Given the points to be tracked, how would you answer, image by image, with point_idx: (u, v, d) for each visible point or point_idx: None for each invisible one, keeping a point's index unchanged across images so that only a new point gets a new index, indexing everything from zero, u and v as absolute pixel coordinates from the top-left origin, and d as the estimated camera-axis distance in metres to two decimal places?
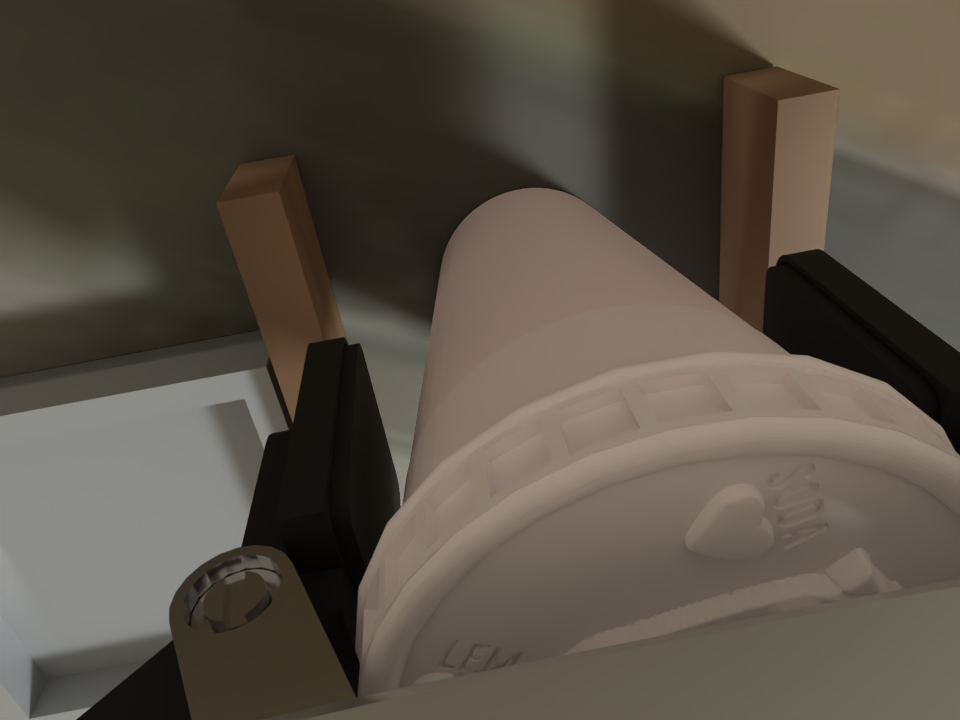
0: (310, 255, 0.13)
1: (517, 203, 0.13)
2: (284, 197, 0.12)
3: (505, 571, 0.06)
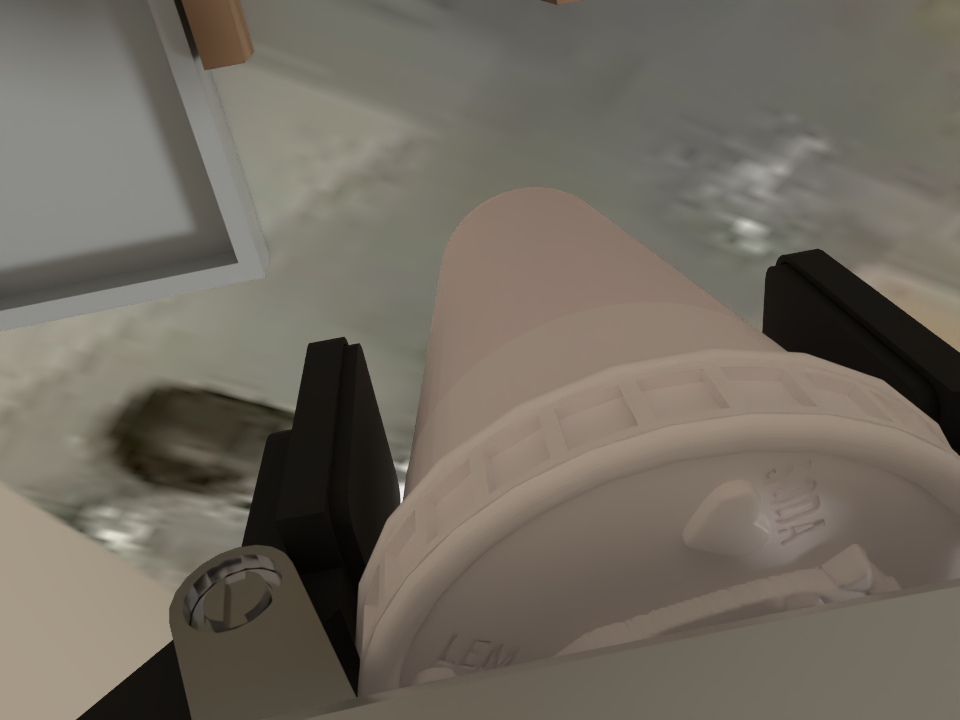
0: None
1: (517, 202, 0.13)
2: None
3: (504, 567, 0.06)
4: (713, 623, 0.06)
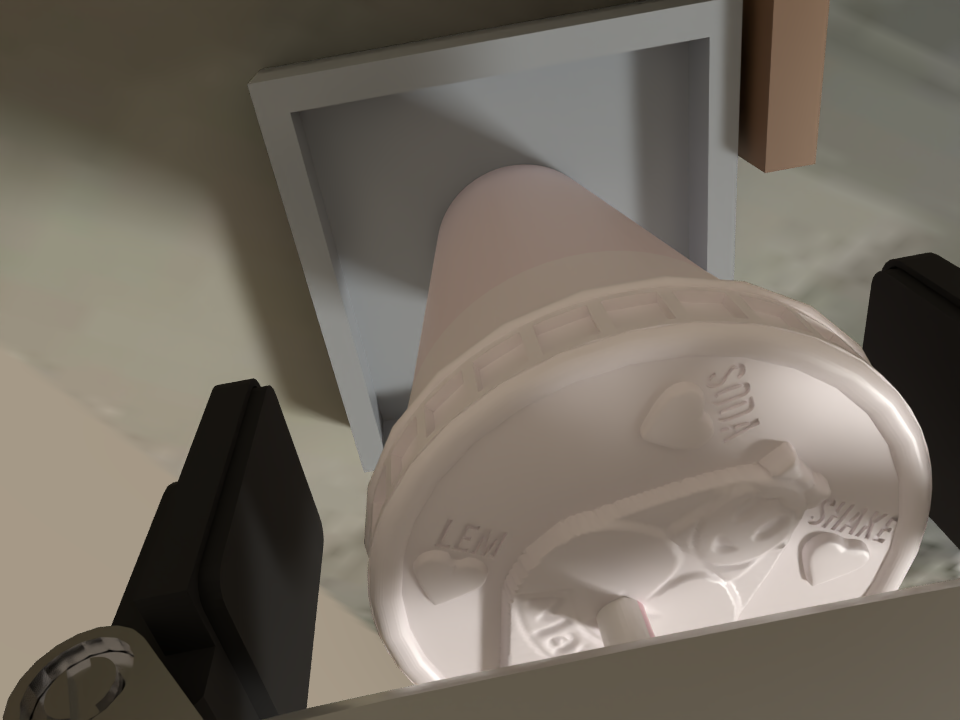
0: None
1: (508, 176, 0.14)
2: None
3: (491, 457, 0.07)
4: (667, 510, 0.07)
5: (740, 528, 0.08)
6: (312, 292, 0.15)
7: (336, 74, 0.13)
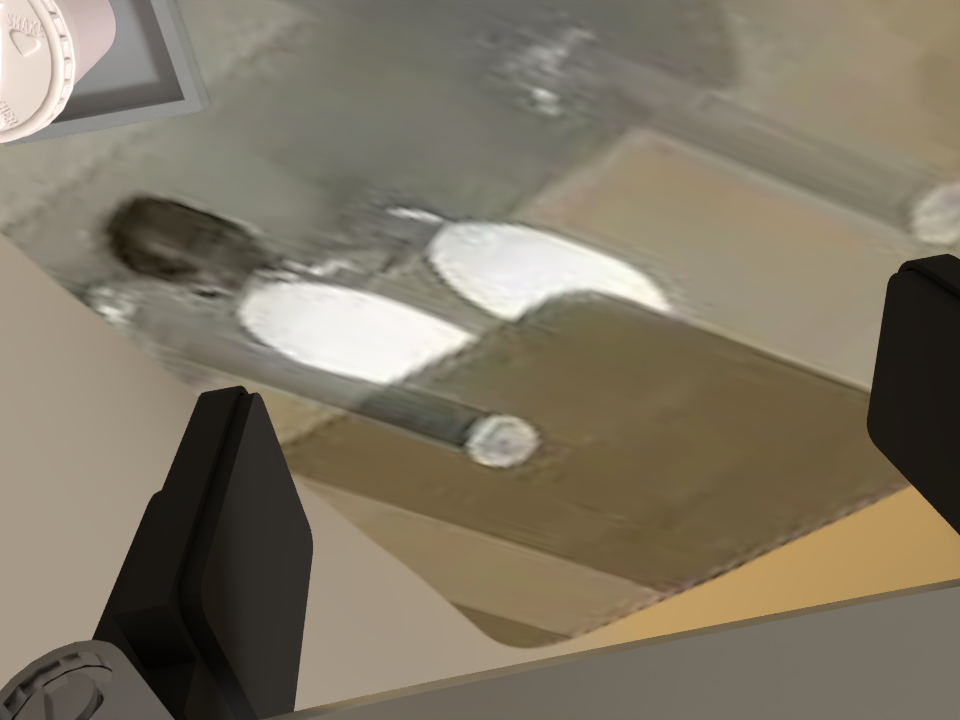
0: None
1: None
2: None
3: None
4: None
5: None
6: None
7: None
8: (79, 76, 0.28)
